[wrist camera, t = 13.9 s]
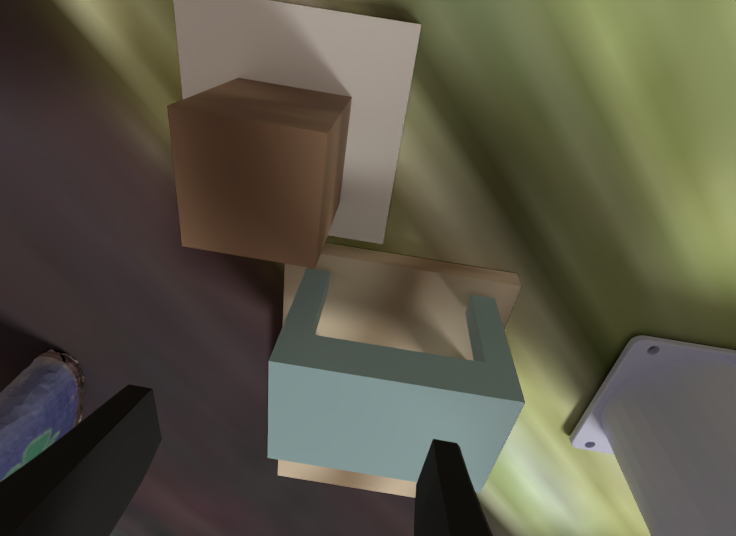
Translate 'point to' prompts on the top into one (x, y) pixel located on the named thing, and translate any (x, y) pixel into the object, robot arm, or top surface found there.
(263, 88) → the block
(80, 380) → the flask
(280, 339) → the cover
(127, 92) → the top surface
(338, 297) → the board
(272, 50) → the pad
